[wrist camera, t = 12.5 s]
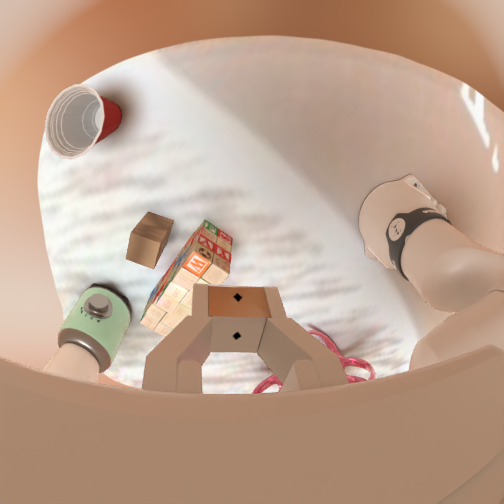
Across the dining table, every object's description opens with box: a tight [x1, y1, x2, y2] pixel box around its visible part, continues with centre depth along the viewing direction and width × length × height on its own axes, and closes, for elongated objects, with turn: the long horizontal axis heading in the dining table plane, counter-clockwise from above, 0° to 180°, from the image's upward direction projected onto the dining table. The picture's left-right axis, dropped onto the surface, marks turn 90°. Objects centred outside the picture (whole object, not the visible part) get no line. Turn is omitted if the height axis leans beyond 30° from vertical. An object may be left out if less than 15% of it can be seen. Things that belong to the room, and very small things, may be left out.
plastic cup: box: [45, 84, 122, 159], centre depth 33 cm, size 11×11×12 cm
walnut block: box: [126, 212, 173, 269], centre depth 44 cm, size 5×5×9 cm
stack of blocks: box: [140, 220, 232, 337], centre depth 47 cm, size 21×6×12 cm, turn 142°
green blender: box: [43, 284, 131, 383], centre depth 42 cm, size 19×13×35 cm
